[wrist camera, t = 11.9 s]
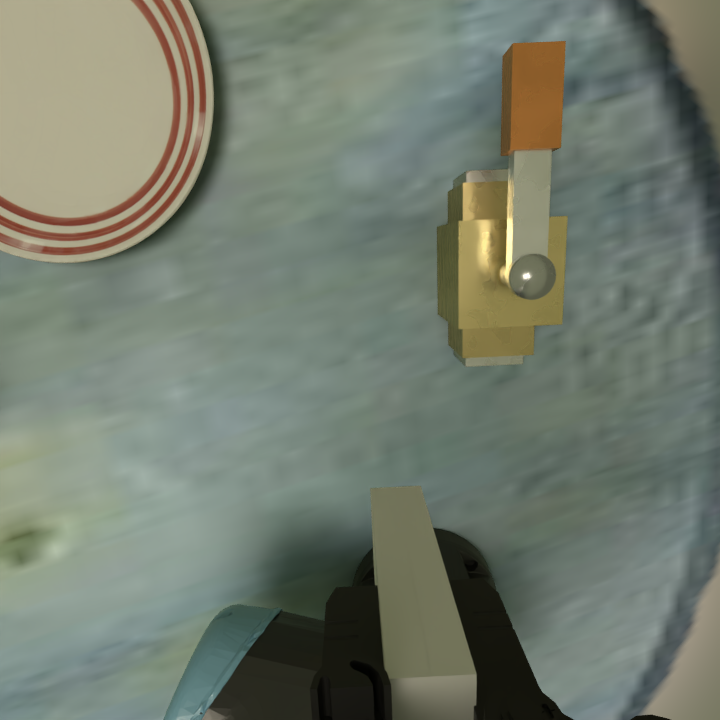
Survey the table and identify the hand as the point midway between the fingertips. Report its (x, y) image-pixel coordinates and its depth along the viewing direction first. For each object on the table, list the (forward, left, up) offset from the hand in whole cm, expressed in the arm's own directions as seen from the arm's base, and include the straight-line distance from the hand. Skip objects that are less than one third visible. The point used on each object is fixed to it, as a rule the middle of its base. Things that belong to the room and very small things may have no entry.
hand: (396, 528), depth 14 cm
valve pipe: (+6, -11, -32) cm, 35 cm away
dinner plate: (+22, +25, -33) cm, 47 cm away
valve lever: (+12, -11, -23) cm, 28 cm away
